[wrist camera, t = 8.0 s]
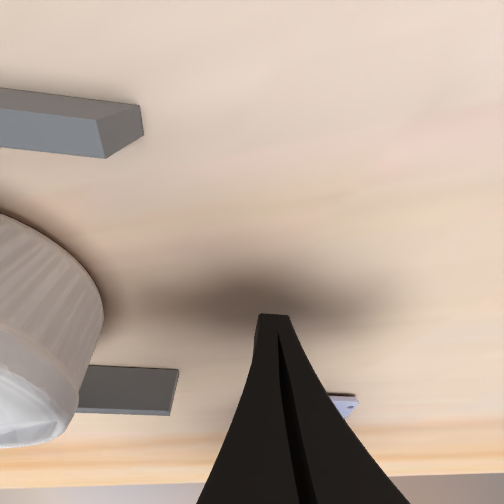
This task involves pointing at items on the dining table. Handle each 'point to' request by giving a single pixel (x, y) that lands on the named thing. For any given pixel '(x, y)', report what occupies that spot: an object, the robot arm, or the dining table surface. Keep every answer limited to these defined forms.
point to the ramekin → (42, 334)
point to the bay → (98, 146)
